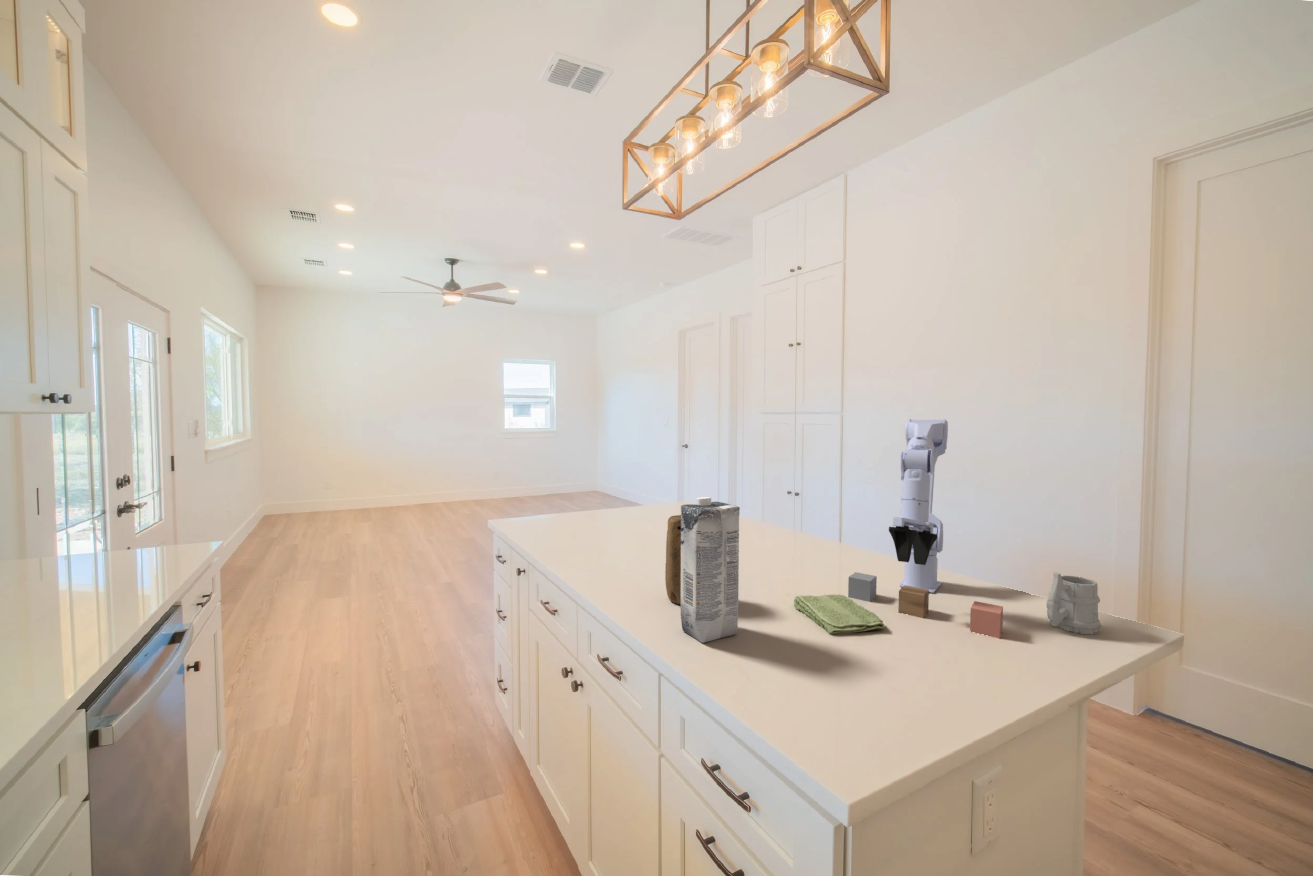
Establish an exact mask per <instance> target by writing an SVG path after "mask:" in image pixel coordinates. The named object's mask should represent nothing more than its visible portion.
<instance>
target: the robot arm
mask: <svg viewBox="0 0 1313 876" xmlns="http://www.w3.org/2000/svg"><path fill="white" fill-rule="evenodd" d="M948 422H949V421H948V420H946V419H945V418H943V419H911V418H909V419H907V421H906V422H905V433H904V434H905V440H906V441H905V442H906V449H905V451H901V453H900V459H899V460H900V464H899V466H900V480H901V492H900V493H901V495H900V512H899V514H900V515H899V516H893V517H892V519H893V520H892V526H889V527H888V532H889V533H890V537H892V541H893V543H894V547H895V548H894V549H895V552H896V558H897V561H898V562H903V563H904V572H903V573H904V575H903V576H904V577H903V578H904V579H903V580H902V582H900V583H899V586H898V587H901V588H902V587H903V586H904V585H907V586H912V587H917V588H923V589H928V590H929V593H935V592H936V591H937V589H939V587H940V586H941V584H942V581H938V563H939V562H938V560H939V559H938V557H937V555H938V553H941V552H942V551H943V548H944V524H943V522H942V520H941V519H939V518H938V517H937V516H936V515H935V514H933V503H934V501H933V500H934V486H935V483H934V482H935V470H936V469H935V468H936V467H935V466H936V463H937V461H938V458H939V457H940V456H943V455H944V454H946V450H947V447H948V445H947V444H948V438H949V437H948V436H949V435H948V433H949V428H948V427H949V424H948Z"/></svg>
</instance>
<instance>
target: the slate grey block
mask: <svg viewBox="0 0 1313 876" xmlns="http://www.w3.org/2000/svg"><path fill="white" fill-rule="evenodd" d="M877 582H878V581H877V575H872V574H868V573H862V572H856V571H855V572H853V573H852V574H851V575H849V576H848V583H847V584H848V588H847V589H848V591H847V593H848V594H847V595H848V596H847V598H849V599H854V600H859V601H863V602H868V603H869V602H872V601H873V600H874V599H875V598H876V597H877Z"/></svg>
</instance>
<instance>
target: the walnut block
mask: <svg viewBox="0 0 1313 876" xmlns="http://www.w3.org/2000/svg"><path fill="white" fill-rule="evenodd" d="M929 596H930V592H929V590H928V589H923V588H917V587H912V586H907V585H904V586H903V587H901V588H900V589H899V590H898V609H897V610H898V611H897V612H898V613H899V614H902V613H903V614H904V615H906V614H908V615H907V616H912V617H916V618H920V619H924V618H925V617H924V616H926V615H927V614H928V613H929V608H930V607H929V605H930V604H929V601H930V600H929V598H930V597H929ZM927 612H928V613H927Z"/></svg>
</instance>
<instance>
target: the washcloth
mask: <svg viewBox="0 0 1313 876" xmlns="http://www.w3.org/2000/svg"><path fill="white" fill-rule="evenodd" d="M793 601H794V602H793V603H794V604H793V607H795V609H796V610H798V611H799V610H800V611H799V612H800V613H801V612H802V613H801V614H803V615H804V614H805V616H806V617H807V618H808V619H810V620H812V621H813V622H814V623H815V624H817V625H819V626H820V627H821V628H823V629H824V630H825V631H826V632H827V631H828V632H827V633H828V634H830V633H831V634H830V635H833V636H834V635H839V634H841V635H842V634H847V633H858V632H866V631H873V630H883V629H884V628H885V624H884V622H883V621H884V620H882V619H881V618H879V617H878V615H877V614H876V613H874V612H871V611H870V610H869V609H867V608H865V607H864V606H862V605H859V604H857V602H855V601H854V600H852V598H849V597H848V596H845V595H843V594H842V595H841V594H823V595H810V594H809V595H796V596H795V598H794V600H793Z"/></svg>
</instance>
